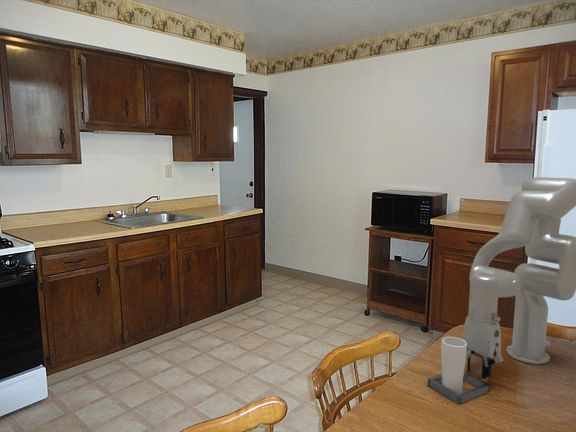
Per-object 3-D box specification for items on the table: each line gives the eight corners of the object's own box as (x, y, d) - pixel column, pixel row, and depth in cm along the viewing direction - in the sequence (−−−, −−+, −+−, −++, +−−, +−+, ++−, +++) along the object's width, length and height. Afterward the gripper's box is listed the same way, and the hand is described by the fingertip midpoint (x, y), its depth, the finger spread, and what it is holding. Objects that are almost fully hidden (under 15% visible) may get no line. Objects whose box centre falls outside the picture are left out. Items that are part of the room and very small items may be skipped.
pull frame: (465, 370, 129) (467, 346, 128) (498, 387, 120) (500, 361, 119) (427, 385, 121) (428, 359, 120) (459, 404, 111) (460, 376, 110)
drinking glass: (466, 399, 114) (469, 347, 112) (441, 396, 115) (443, 345, 113) (461, 386, 120) (464, 337, 118) (437, 383, 122) (439, 335, 120)
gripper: (517, 322, 116) (513, 383, 118) (466, 304, 130) (462, 359, 132) (501, 327, 112) (496, 390, 114) (450, 308, 126) (447, 365, 129)
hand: (478, 373), depth 123 cm, fingers closed on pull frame, 4 cm apart
